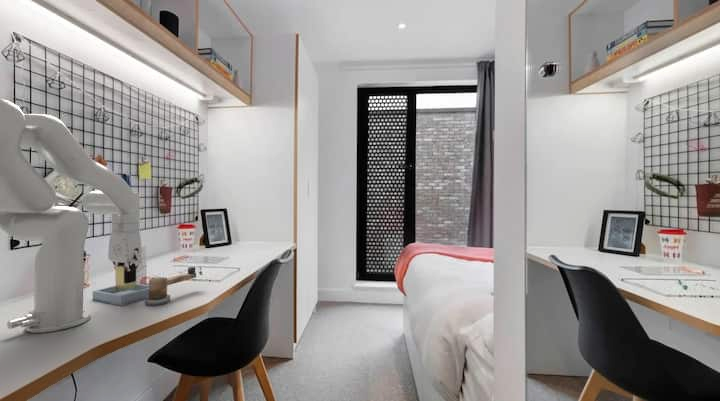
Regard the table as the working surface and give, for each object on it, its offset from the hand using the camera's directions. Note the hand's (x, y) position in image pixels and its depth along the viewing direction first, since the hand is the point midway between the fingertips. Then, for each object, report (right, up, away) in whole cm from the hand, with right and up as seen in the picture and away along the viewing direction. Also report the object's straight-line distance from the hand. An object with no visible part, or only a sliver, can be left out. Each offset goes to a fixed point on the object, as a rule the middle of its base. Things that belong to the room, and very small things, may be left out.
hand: (125, 280), depth 106 cm
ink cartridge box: (-7, -6, +13) cm, 16 cm away
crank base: (+8, -6, +1) cm, 10 cm away
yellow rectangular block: (0, -3, 0) cm, 3 cm away
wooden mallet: (+15, -4, +2) cm, 16 cm away
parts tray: (0, -6, 0) cm, 6 cm away
